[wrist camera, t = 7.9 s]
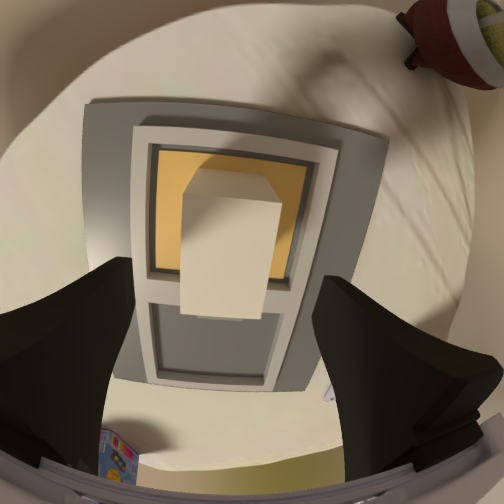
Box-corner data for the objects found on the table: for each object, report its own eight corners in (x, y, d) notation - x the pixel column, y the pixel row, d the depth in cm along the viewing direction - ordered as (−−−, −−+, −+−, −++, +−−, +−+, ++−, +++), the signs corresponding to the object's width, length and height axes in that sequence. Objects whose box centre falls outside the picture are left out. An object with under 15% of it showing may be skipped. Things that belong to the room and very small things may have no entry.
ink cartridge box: (141, 455, 35) (135, 526, 22) (115, 452, 35) (105, 520, 22) (113, 429, 31) (98, 513, 18) (84, 426, 31) (66, 503, 18)
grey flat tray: (385, 140, 17) (396, 142, 15) (303, 387, 28) (306, 398, 26) (88, 104, 14) (77, 104, 13) (115, 374, 25) (112, 385, 24)
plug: (264, 174, 17) (282, 203, 11) (249, 269, 20) (258, 328, 14) (197, 168, 16) (183, 193, 11) (191, 264, 19) (180, 322, 14)
